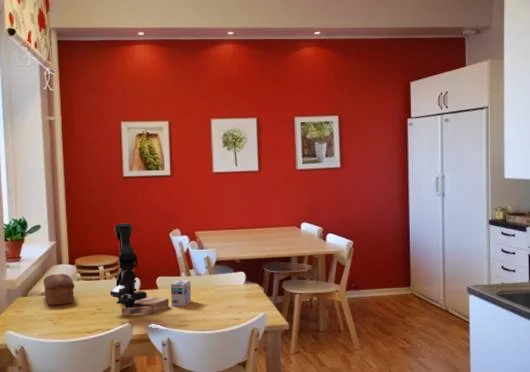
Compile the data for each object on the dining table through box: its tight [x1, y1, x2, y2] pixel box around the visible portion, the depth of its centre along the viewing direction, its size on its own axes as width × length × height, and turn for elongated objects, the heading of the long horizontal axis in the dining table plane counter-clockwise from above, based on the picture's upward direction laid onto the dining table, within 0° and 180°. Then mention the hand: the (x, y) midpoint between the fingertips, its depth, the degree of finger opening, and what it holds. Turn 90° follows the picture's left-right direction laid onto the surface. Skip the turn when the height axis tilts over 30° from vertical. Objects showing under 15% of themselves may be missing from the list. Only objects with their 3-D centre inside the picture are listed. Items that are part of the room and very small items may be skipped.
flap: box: [121, 306, 153, 316], centre depth 278 cm, size 14×1×3 cm, turn 105°
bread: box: [43, 273, 75, 306], centre depth 310 cm, size 14×28×12 cm, turn 24°
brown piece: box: [133, 296, 170, 314], centre depth 288 cm, size 14×12×4 cm
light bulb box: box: [170, 279, 192, 307], centre depth 297 cm, size 11×7×11 cm, turn 168°
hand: (128, 311), depth 279 cm, fingers closed
